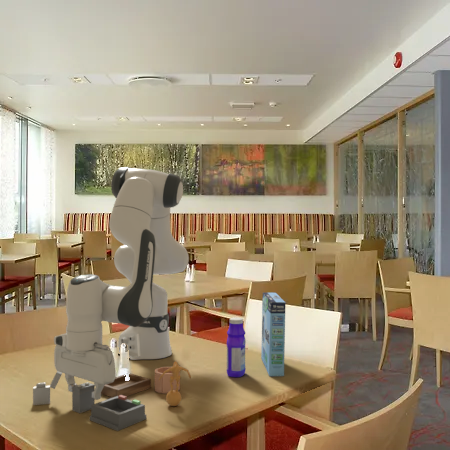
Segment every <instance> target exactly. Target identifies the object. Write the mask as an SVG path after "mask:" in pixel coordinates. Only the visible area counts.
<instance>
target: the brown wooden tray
mask: <svg viewBox="0 0 450 450" xmlns="http://www.w3.org/2000/svg"><path fill="white" fill-rule="evenodd" d="M129 373H130V374H129V377H130V380H129V381H125V377H126V375H125V374H122V375H118V376H116V378H115V380H114V382H112V383H109V384H106V385H104V387H103V389H102V391H101V395H102V396H103V395H104V396H107V397H110V398H113V397H116V396H120V395H123V396H126V397H129V396H132V395H135V394H137V393H138V394H139V393H140V392H143V391H146V390H148V389H151V388H152V379H151V378H149V377H145V376H142V375H138V374H133V373H131V372H129ZM124 375H125V376H124Z"/></svg>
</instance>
